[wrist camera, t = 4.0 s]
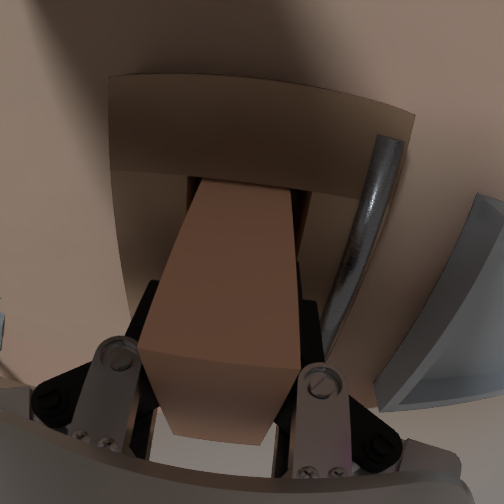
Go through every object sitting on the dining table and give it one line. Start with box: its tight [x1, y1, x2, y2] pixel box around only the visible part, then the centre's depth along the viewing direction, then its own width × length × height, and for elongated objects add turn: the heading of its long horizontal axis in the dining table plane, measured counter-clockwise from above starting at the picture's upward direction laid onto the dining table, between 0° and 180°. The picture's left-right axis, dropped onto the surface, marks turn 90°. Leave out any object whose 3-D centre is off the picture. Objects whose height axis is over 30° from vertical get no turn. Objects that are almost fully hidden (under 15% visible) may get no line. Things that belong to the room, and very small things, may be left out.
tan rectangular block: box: [137, 177, 301, 446], centre depth 10 cm, size 6×3×7 cm, turn 174°
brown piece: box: [109, 73, 415, 363], centre depth 13 cm, size 14×10×2 cm
